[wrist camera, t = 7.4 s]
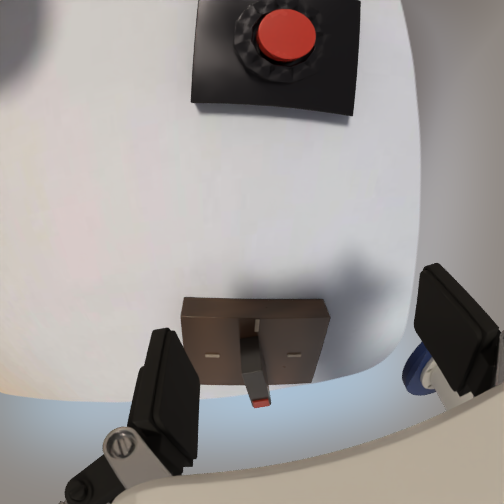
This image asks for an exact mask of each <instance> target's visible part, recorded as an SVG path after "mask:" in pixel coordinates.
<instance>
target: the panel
mask: <svg viewBox="0 0 504 504" xmlns="http://www.w3.org/2000/svg"><path fill="white" fill-rule="evenodd" d="M329 321H330V315H329V312H328V310H327V307H326V305H325V303H324V300H323V299H227V298H192V297H184V300H183V306H182V311H181V327H182V337H183V347H184V350H185V352H186V354H187V355H188V357H189V359H190V361H191V363H192V365H193V367H194V369H195V371H196V372H197V374H198V376H199V380H200V384H202V385H245V383H244V380H243V377H242V373H241V356H240V339H242V338H248V337H253V336H258V338H259V342H260V346H261V350H262V354H263V358H264V362H265V366H266V371H267V377H268V385H279V384H299V383H311V382H312V379H313V376H314V372H315V369H316V366H317V363H318V359H319V356H320V353H321V349H322V346H323V342H324V339H325V335H326V332H327V328H328V325H329Z"/></svg>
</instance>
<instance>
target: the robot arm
mask: <svg viewBox="0 0 504 504" xmlns="http://www.w3.org/2000/svg"><path fill="white" fill-rule="evenodd" d="M414 328H415V331H416V333H417V334H418V336H419V337H420V339H421V340H422V342H423V343H424V345H425V347H426V348H427V350H428V351H429V353H430V354H431V356H432V357H431V358H430V360H429V361H428V362H427V363H426V365H425V367H424V368H423V370H422V373H421V376H420V381H421V383H422V385H423V386H424V388H426V389H435V390H436V392H437V394H438V396H439V398H440V400H441V401H442V403H443V405H444V407H445V409H446V412H443V413H442V414H439V415H437V416H435V417H433V418H430V419H428V420H425V421H423V422H421V423H418V424H416V425H414V426H411V427H409V428H406V429H404V430H401V431H398V432H395V433H392V434H390V435H387V436H384V437H381V438H378V439H375V440H372V441H369V442H366V443H363V444H360V445H356V446H353V447H350V448H346V449H343V450H339V451H335V452H331V453H328V454H323V455H319V456H315V457H311V458H307V459H302V460H297V461H292V462H287V463H282V464H276V465H270V466H264V467H257V468H250V469H243V470H235V471H226V472H216V473H204V474H193V475H182V473H183V467H192V466H193V459H196V458H197V450H198V449H197V448H198V420H199V397H200V380H199V376H198V374H197V372H196V371H195V369H194V367H193V365H192V363H191V361H190V359H189V357H188V355H187V354H186V352H185V350H184V348H183V346H182V344H181V342H180V340H179V338H178V336H177V334H176V332H175V331H171V330H170V329H169V328H162V329H157V330H153V332H152V335H151V339H150V343H149V347H148V351H147V356H146V360H145V364H144V366H142V367H141V368H140V370H139V373H138V377H137V382H136V386H135V390H134V395H133V400H132V405H131V409H130V414H129V419H128V424H127V427H119V428H116V429H114V430H112V431H111V432H110V433H109V434H108V435H107V436H106V438H105V439H104V442H103V452H104V454H103V455H102V456H101V457H100V458H98V459H97V460H96V461H94V462H93V463H92V464H90V465H89V466H88V467H87V468H85V469H84V470H83V471H81V472H80V473H79V474H77V475H76V476H75V477H73V478H72V479H71V480H70V481H69V482H68V484H67V486H66V489H65V498H66V500H65V502H61V501H60V503H59V504H504V331H502V333H501V332H500V330H499V327H498V326H497V325H496V324H495V322H494V321H493V320H492V319H491V318H490V317H489V315H488V314H487V313H486V312H485V311H484V310H483V309H482V308H481V306H480V305H479V304H478V303H477V302H476V301H475V300H474V299H473V298H472V297H471V296H470V295H469V294H468V293H467V291H466V290H465V289H464V288H463V287H462V286H461V285H460V284H459V283H458V282H457V281H456V280H455V279H454V278H453V277H452V276H451V275H450V274H449V273H448V272H447V271H446V270H445V269H444V268H443V267H442V266H441V265H440V264H439V263H434V264H431V265H428V266H425V267H424V269H423V271H422V272H421V273H420V279H419V288H418V297H417V305H416V312H415V319H414Z"/></svg>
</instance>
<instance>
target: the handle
mask: <svg viewBox="0 0 504 504" xmlns="http://www.w3.org/2000/svg"><path fill="white" fill-rule="evenodd" d="M240 356H241V373H242V377H243V380H244V383H245V386H246V389H247V391H248V394H249V397H250V400H251V403H252V406H253V407H254V408H259V407H265V406H269V405H271V399H270V392H269V385H268V377H267V371H266V366H265V362H264V358H263V354H262V350H261V346H260V342H259V338H258V336H253V337H248V338H242V339H240Z"/></svg>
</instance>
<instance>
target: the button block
mask: <svg viewBox="0 0 504 504" xmlns="http://www.w3.org/2000/svg"><path fill="white" fill-rule="evenodd" d="M360 7H361V1H359V0H198V9H197V19H196V30H195V42H194V55H193V70H192V87H191V103H230V104H250V105H265V106H277V107H287V108H297V109H305V110H313V111H321V112H328V113H335V114H341V115H347V116H353V110H354V100H355V90H356V79H357V66H358V52H359V34H360ZM279 9H290V10H295V11H297V12H300V13H301V14H303V15H305V16H306V17H307V18H308V19H309V20H310V21H311V23H312V24H313V26H314V29H315V33H316V40H315V44H314V46H313V48H312V49H311V50H310V52H308V53H307V54H306V55H304V56H303V57H301V58H299V59H297V60H295V61H292V62H278V61H274V60H272V59H270V58H268V57H267V56H265V55H264V54H263V53H262V51H261V50H260V49H259V47H258V45H257V41H256V34H257V30H258V27H259V25H260V23H261V21H262V19H263V18H264V17H265V16H266V15H267V14H269V13H271V12H273V11H275V10H279Z"/></svg>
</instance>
